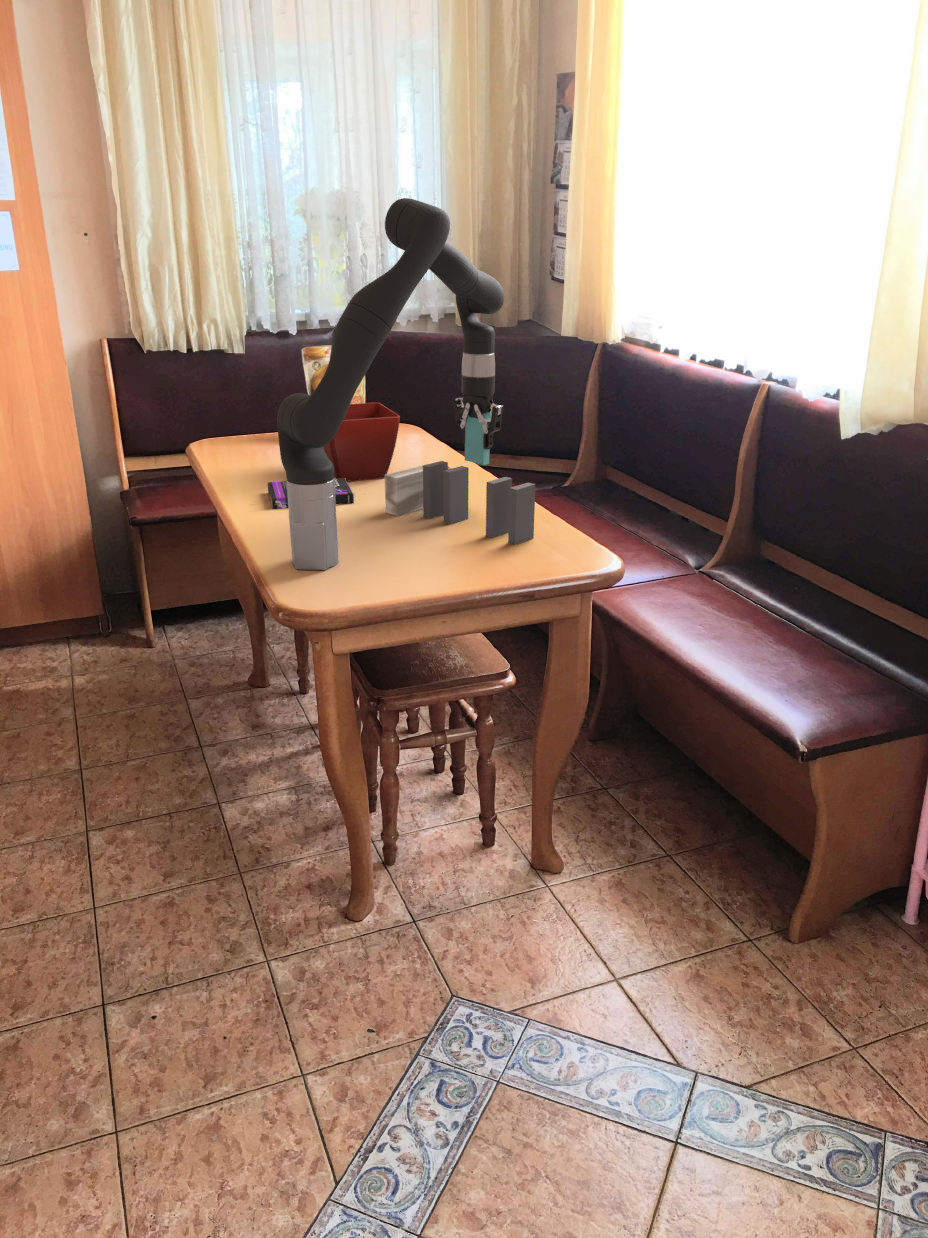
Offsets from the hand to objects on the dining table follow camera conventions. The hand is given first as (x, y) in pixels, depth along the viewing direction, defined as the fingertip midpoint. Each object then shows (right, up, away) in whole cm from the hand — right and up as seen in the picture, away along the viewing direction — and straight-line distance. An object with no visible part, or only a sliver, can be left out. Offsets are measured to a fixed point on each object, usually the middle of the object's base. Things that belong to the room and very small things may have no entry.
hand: (477, 446), depth 225 cm
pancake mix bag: (-41, +13, +65) cm, 78 cm away
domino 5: (+9, -23, -18) cm, 31 cm away
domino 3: (0, -3, +1) cm, 4 cm away
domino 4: (+5, -22, -14) cm, 26 cm away
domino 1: (-10, -16, -1) cm, 19 cm away
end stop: (-15, -14, +3) cm, 21 cm away
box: (-40, -11, +11) cm, 43 cm away
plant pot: (-31, -2, +31) cm, 44 cm away
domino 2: (-5, -18, -5) cm, 19 cm away
